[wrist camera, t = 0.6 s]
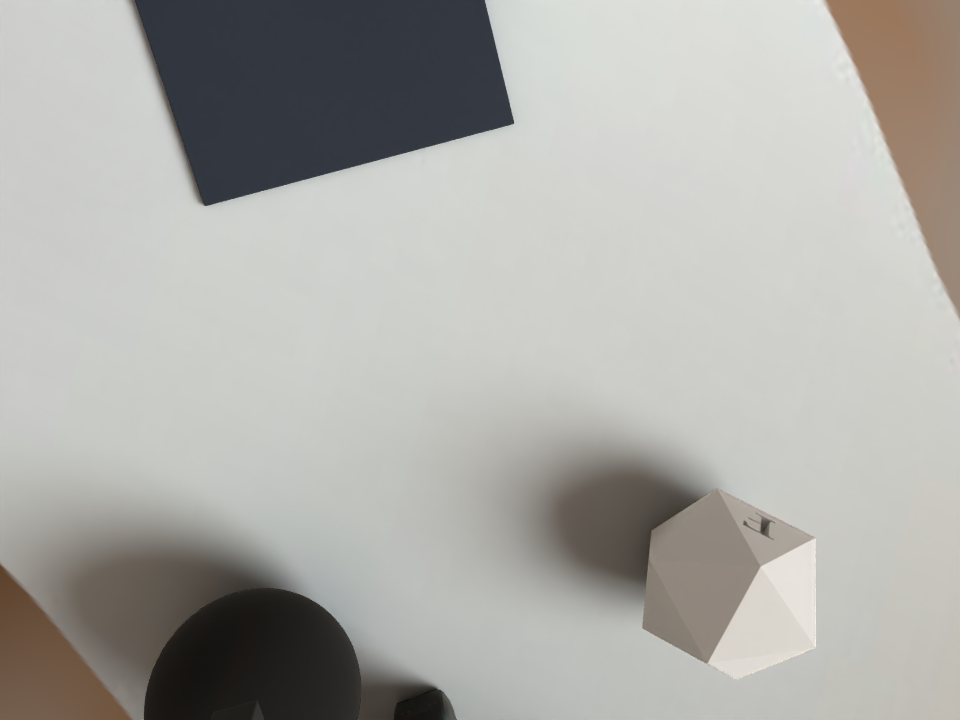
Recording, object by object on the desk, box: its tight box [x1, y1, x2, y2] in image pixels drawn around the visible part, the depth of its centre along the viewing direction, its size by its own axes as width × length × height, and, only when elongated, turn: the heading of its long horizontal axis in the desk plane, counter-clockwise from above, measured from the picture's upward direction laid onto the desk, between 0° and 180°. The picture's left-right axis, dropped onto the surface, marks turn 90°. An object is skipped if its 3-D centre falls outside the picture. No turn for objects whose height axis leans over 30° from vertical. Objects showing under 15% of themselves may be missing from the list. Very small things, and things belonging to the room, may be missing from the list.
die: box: [642, 488, 816, 680], centre depth 39 cm, size 8×9×10 cm
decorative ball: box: [144, 588, 361, 720], centre depth 37 cm, size 10×10×10 cm
